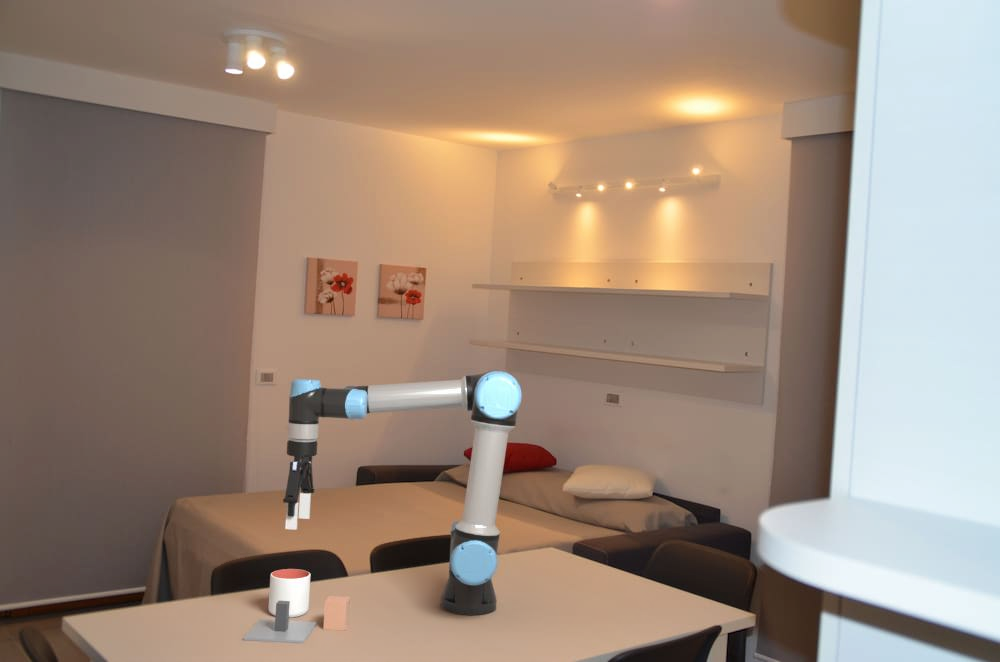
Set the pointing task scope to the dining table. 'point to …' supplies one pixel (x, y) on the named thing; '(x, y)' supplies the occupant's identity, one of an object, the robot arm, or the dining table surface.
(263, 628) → the grey square plate
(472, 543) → the robot arm
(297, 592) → the cup
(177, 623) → the dining table surface
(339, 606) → the peach toy cube
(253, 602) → the dining table surface
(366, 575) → the dining table surface
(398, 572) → the dining table surface
